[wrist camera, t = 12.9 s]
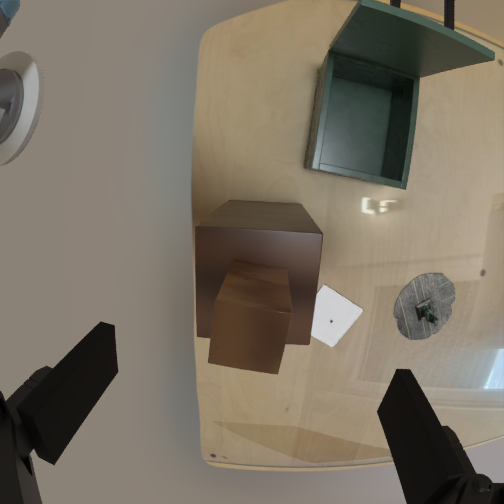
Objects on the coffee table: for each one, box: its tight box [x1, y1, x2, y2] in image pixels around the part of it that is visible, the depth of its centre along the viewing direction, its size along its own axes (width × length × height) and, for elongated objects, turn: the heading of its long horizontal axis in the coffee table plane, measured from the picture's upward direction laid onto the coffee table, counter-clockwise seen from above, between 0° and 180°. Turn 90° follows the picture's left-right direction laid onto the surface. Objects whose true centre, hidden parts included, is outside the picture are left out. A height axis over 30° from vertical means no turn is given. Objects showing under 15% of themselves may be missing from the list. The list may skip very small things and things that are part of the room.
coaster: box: [311, 284, 364, 348], centre depth 47 cm, size 8×8×1 cm
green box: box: [304, 50, 420, 190], centre depth 36 cm, size 15×12×9 cm
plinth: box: [195, 200, 323, 345], centre depth 35 cm, size 10×10×20 cm
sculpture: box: [394, 273, 455, 340], centre depth 46 cm, size 12×9×8 cm
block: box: [208, 260, 292, 374], centre depth 22 cm, size 4×4×8 cm
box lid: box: [329, 0, 495, 78], centre depth 21 cm, size 15×12×7 cm
